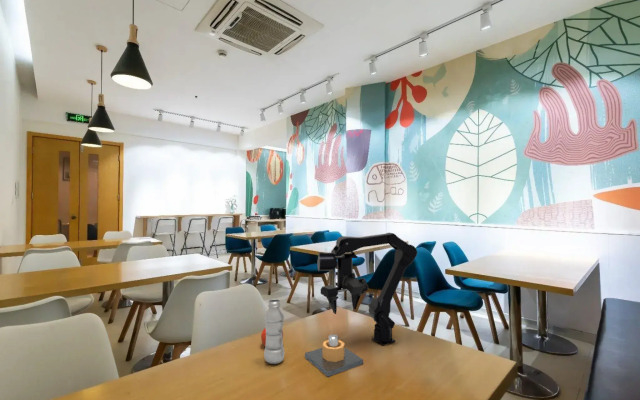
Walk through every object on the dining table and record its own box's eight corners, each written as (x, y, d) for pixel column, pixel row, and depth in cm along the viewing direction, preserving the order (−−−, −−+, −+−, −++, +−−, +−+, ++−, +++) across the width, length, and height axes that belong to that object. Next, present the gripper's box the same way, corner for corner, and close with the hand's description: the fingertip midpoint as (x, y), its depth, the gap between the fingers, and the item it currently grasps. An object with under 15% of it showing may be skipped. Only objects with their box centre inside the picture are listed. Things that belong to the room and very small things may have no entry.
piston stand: (338, 347, 108) (337, 325, 109) (363, 364, 97) (363, 339, 97) (304, 357, 101) (304, 333, 101) (327, 376, 89) (327, 350, 89)
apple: (286, 347, 109) (286, 325, 109) (266, 353, 104) (266, 330, 104) (277, 339, 115) (277, 318, 115) (257, 344, 111) (257, 323, 111)
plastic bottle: (280, 367, 94) (280, 304, 95) (260, 365, 96) (261, 303, 96) (286, 357, 101) (287, 298, 101) (268, 356, 102) (268, 297, 103)
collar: (336, 349, 104) (336, 337, 104) (348, 357, 98) (348, 345, 98) (319, 354, 100) (319, 342, 100) (330, 363, 94) (330, 350, 94)
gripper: (337, 276, 101) (337, 323, 100) (377, 270, 111) (378, 313, 110) (319, 271, 110) (319, 313, 109) (358, 266, 120) (358, 305, 119)
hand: (344, 311), depth 112 cm, fingers open, 9 cm apart
